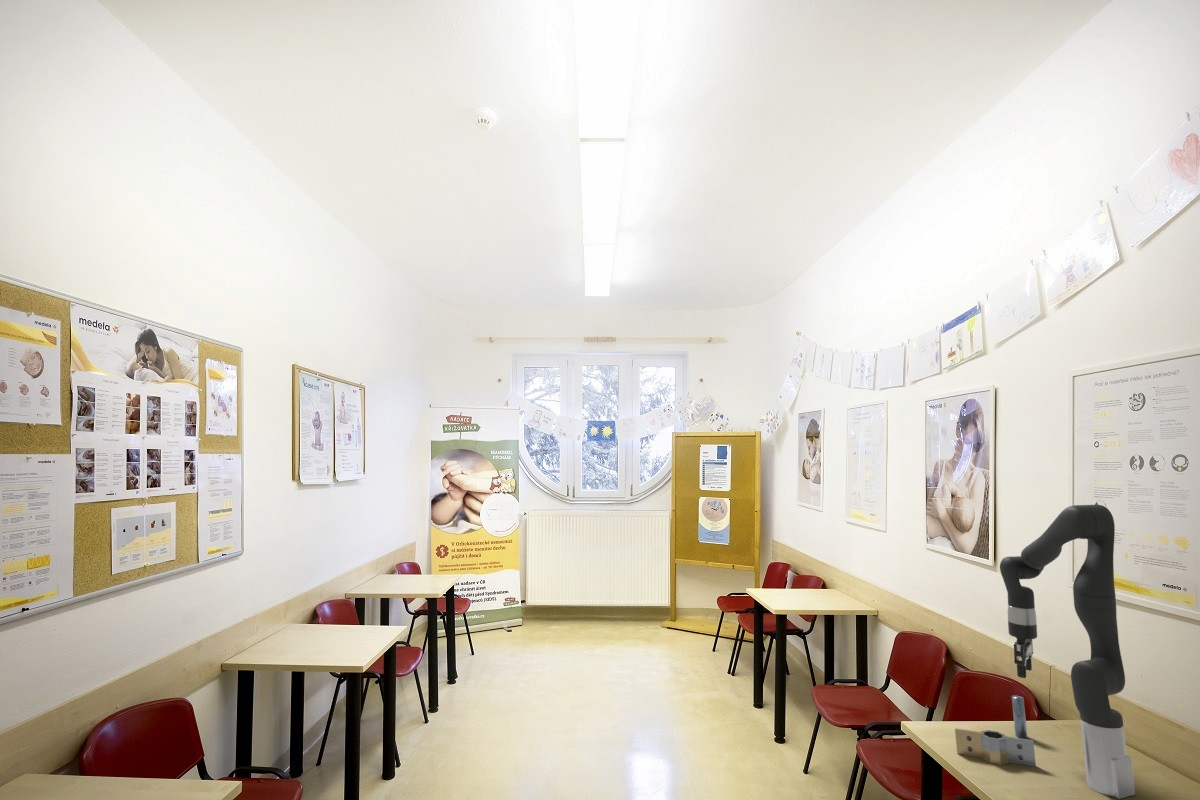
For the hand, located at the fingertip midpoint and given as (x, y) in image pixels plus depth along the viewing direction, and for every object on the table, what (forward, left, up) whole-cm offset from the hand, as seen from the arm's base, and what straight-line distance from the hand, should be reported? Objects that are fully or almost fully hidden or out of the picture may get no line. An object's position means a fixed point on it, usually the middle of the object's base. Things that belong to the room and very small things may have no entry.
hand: (1024, 673), depth 199 cm
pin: (+6, -3, -21) cm, 22 cm away
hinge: (-3, +18, -21) cm, 28 cm away
